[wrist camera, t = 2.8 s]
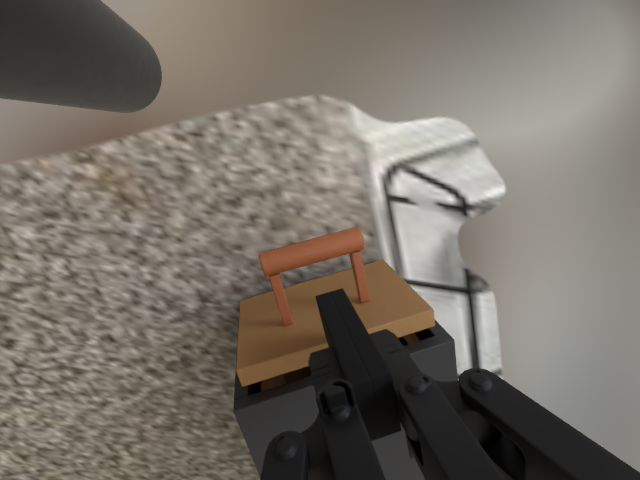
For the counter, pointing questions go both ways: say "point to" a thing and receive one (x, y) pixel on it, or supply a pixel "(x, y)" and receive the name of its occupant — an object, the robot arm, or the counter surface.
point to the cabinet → (301, 409)
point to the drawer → (303, 314)
